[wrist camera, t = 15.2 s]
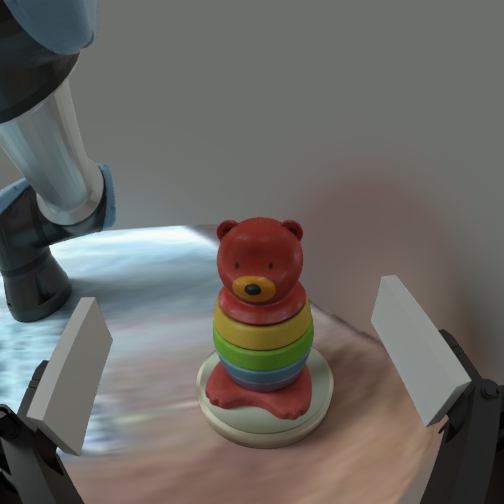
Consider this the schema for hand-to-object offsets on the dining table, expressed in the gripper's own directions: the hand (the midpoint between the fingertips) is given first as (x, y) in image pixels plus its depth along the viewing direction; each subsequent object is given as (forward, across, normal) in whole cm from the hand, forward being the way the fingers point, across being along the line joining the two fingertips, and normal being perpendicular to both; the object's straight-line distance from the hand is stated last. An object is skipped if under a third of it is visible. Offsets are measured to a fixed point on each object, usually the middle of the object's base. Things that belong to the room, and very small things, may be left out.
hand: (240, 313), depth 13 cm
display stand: (+10, +2, -21) cm, 23 cm away
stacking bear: (+10, +2, -18) cm, 21 cm away
